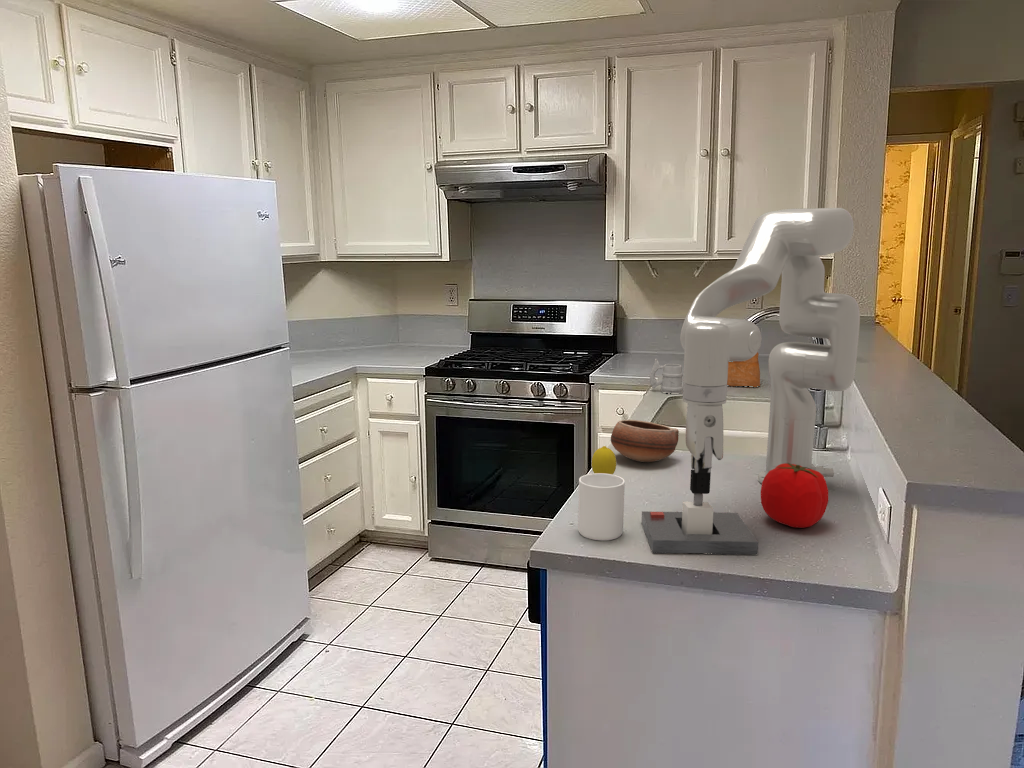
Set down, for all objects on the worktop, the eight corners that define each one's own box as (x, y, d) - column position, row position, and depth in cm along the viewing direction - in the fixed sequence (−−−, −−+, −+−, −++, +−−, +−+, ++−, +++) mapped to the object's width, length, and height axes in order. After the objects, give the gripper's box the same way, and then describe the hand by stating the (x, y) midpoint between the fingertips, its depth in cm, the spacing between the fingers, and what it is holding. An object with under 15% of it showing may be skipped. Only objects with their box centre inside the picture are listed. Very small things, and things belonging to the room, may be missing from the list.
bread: (688, 378, 296) (690, 340, 293) (759, 382, 288) (762, 343, 285) (685, 385, 283) (687, 345, 280) (759, 389, 275) (762, 348, 272)
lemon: (599, 475, 173) (600, 441, 172) (620, 480, 170) (621, 445, 168) (586, 480, 169) (587, 446, 167) (607, 486, 166) (608, 450, 164)
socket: (736, 524, 143) (737, 509, 143) (757, 555, 129) (758, 538, 129) (641, 523, 144) (641, 508, 143) (652, 553, 130) (653, 536, 129)
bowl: (688, 462, 183) (690, 422, 182) (645, 474, 174) (646, 432, 172) (640, 448, 196) (641, 411, 194) (597, 459, 186) (598, 419, 184)
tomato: (774, 536, 138) (779, 475, 136) (747, 510, 151) (750, 455, 149) (839, 534, 139) (844, 474, 136) (806, 509, 152) (810, 454, 150)
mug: (682, 395, 264) (684, 361, 261) (648, 393, 266) (649, 360, 264) (682, 390, 271) (684, 358, 269) (649, 389, 273) (650, 356, 271)
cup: (576, 539, 136) (577, 485, 134) (580, 516, 147) (581, 466, 146) (622, 542, 135) (624, 488, 133) (623, 518, 146) (625, 468, 144)
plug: (705, 531, 139) (707, 491, 138) (711, 538, 134) (714, 497, 134) (681, 530, 139) (683, 490, 138) (686, 537, 134) (688, 496, 134)
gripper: (737, 402, 125) (731, 507, 128) (715, 384, 140) (711, 479, 143) (691, 402, 125) (687, 506, 129) (675, 384, 140) (671, 478, 143)
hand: (699, 492), depth 136 cm, fingers closed
